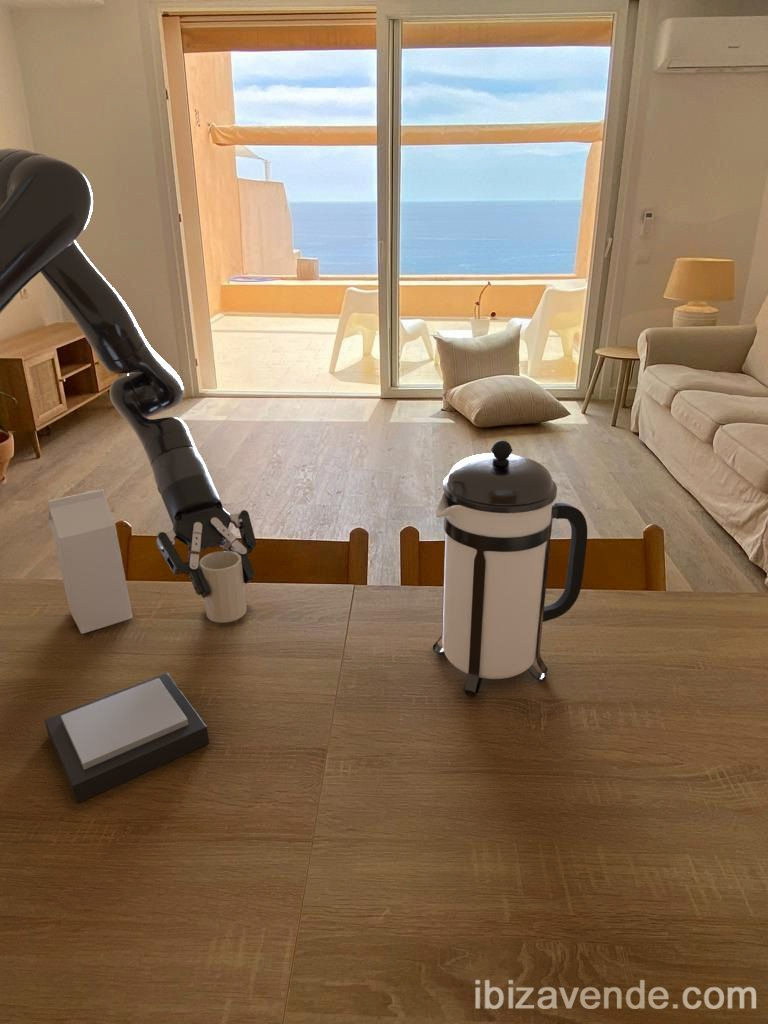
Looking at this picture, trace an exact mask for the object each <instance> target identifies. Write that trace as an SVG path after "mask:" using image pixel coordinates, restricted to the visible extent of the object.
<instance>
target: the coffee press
mask: <svg viewBox="0 0 768 1024" xmlns="http://www.w3.org/2000/svg"><path fill="white" fill-rule="evenodd" d="M490 451H491V453H489V452H488V453H482V454H476V455H472V456H469V457H466V458H464V459H462V460H460V461H459V462H457V463H456V464H454V465H453V467H452V468H451V469H450V471H449V473H448V475H447V476H446V477H445V478H444V480H443V485H442V486H443V487H442V489H443V491H442V494H441V496H440V498H439V500H438V501H439V502H438V505H437V507H436V510H435V516H436V518H442V517H443V531H444V544H443V545H444V549H443V550H444V551H443V581H442V582H443V583H442V585H443V586H442V614H441V615H442V618H441V619H442V620H441V635H440V636H439V637H438V638H437V639H436V641H435V642H434V643H433V645H432V650H433V651H434V652H435V653H436V654H440V655H441V654H443V653H444V656H445V657H446V658H447V660H448V661H449V663H451V664H452V666H453V667H455V668H456V669H458V670H459V671H461V672H463V673H465V674H467V677H466V682H465V686H464V695H469V696H472V697H477V696H478V694H479V690H480V686H481V684H482V681H483V679H485V680H486V679H487V680H502V679H508V678H509V679H510V678H513V677H515V676H519V675H521V674H522V673H524V672H526V671H528V672H529V674H531V675H532V676H533V678H534V679H536V680H538V681H542V680H545V679H546V677H547V674H548V671H549V670H548V666H547V665H546V664H545V662H544V661H543V659H542V656H541V645H542V644H541V643H542V632H543V623H544V622H549V621H550V620H551V621H552V620H554V619H558V618H559V617H561V616H563V615H565V614H566V613H567V612H568V611H569V610H571V609H572V608H573V606H574V605H575V603H576V602H577V600H578V598H579V596H580V592H581V589H582V584H583V578H584V571H585V563H586V555H587V554H586V553H587V546H588V545H587V544H588V524H587V520H586V516H585V515H584V513H583V512H582V511H581V510H580V509H579V508H577V507H576V506H574V505H572V504H569V503H565V502H555V500H556V498H557V496H558V486H557V483H556V482H555V481H554V480H553V477H552V474H551V473H550V472H549V470H548V469H547V467H545V466H544V465H542V464H541V463H540V462H538V461H536V460H534V459H531V458H529V457H526V456H522V455H518V454H512V453H513V448H512V445H511V444H510V442H508V441H507V440H503V439H500V440H496V441H495V442H494V443H493V445H492V447H491V448H490ZM554 502H555V503H554ZM553 503H554V504H553ZM553 519H557V520H562V519H563V520H567V521H568V523H569V525H570V529H571V531H570V532H571V535H570V545H569V552H568V553H569V555H568V562H567V573H566V581H565V586H564V590H563V593H562V594H561V595H560V597H559V598H558V599H557V600H556V601H555V602H553V603H551V604H548V605H545V603H546V602H545V601H546V593H547V583H548V572H549V571H548V570H549V561H550V553H551V552H550V550H551V537H552V530H553ZM441 640H442V646H440V645H439V642H440V641H441ZM535 661H536V664H537V666H538V667H539V669H540V671H541V672H539V671H538V669H537V668H536V667H535V666H534V665H533V664H534V663H535Z"/></svg>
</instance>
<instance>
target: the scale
mask: <svg viewBox="0 0 768 1024" xmlns="http://www.w3.org/2000/svg"><path fill="white" fill-rule="evenodd" d="M44 723H45V727H46V731H47V734H48V737H49V739H50V742H51V745H52V747H53V750H54V752H55V755H56V757H57V760H58V761H59V764H60V767H61V769H62V771H63V773H64V776H65V778H66V781H67V783H68V786H69V788H70V791H71V793H72V795H73V798H74V800H75V802H76V804H77V805H78V804H80V803H82V802H85V801H87V800H88V799H91V798H93V797H95V796H97V795H100V794H102V793H104V792H107V791H109V790H112V788H115V787H117V786H119V785H122V784H124V783H126V782H128V781H130V780H133V779H134V778H137V777H139V776H141V775H144V774H146V773H148V772H150V771H152V770H154V769H157V768H159V767H162V766H163V765H165V764H168V763H170V762H172V761H174V760H176V759H178V758H182V756H185V755H187V754H190V753H192V752H195V751H196V750H199V749H201V748H203V747H205V746H207V745H209V744H210V739H209V733H208V726H207V725H206V723H204V721H203V719H202V718H201V717H200V715H199V714H198V712H197V711H196V710H195V708H194V707H193V705H191V703H190V702H189V700H188V699H187V697H186V696H185V695H184V693H183V692H182V691H181V689H180V688H179V687H178V686H177V684H176V682H175V681H174V680H173V679H172V677H171V675H170V674H169V673H168V672H164V673H163V674H160V675H156V676H154V677H152V678H150V679H147V680H144V681H142V682H139V683H137V684H134V685H131V686H129V687H126V688H124V689H123V688H122V689H121V690H118V691H116V692H113V693H110V694H108V695H105V696H102V697H101V698H97V699H95V700H92V701H89V702H87V703H83V704H82V705H79V706H75V707H74V708H71V709H69V710H66V711H64V712H61V713H58V714H56V715H53V716H50V717H48V718H45V719H44Z"/></svg>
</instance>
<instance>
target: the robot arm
mask: <svg viewBox="0 0 768 1024" xmlns="http://www.w3.org/2000/svg"><path fill="white" fill-rule="evenodd" d="M93 205H94V200H93V192H92V189H91V185H90V182H89V181H88V179H87V177H86V176H85V175H84V173H82V172H81V171H80V170H79V169H78V168H77V167H75V166H74V165H72V164H71V163H68V162H67V161H64V160H61V159H59V158H57V157H53V156H49V155H46V154H42V153H38V152H35V151H30V150H27V149H22V148H21V149H20V148H11V147H10V148H9V147H8V148H1V149H0V315H1V314H2V313H3V312H4V311H5V309H6V308H7V307H9V305H10V303H12V301H13V300H14V299H15V298H16V297H17V296H18V295H19V293H21V291H22V290H23V289H24V288H25V287H26V286H28V284H29V283H30V282H31V281H32V280H33V279H34V278H35V277H36V276H37V275H39V273H40V274H41V275H42V276H43V277H44V279H45V280H46V281H47V283H48V284H49V285H50V287H51V288H52V289H53V291H54V292H55V293H56V295H57V297H58V298H59V299H60V300H61V302H62V303H63V305H64V306H65V307H66V309H67V311H68V312H69V313H70V316H72V319H73V320H74V321H75V323H76V325H77V326H78V328H79V330H80V331H81V332H82V334H83V336H84V337H85V339H86V341H87V342H88V344H89V345H90V347H91V349H92V351H93V352H94V353H95V355H96V357H97V359H99V362H100V363H101V364H102V366H103V367H104V369H106V370H107V372H109V373H112V374H119V375H120V374H121V376H119V377H116V378H115V379H114V380H113V381H112V382H111V384H110V386H109V400H110V401H111V404H112V406H113V407H114V409H115V410H116V411H117V412H118V414H119V415H120V416H121V417H122V418H123V420H124V421H125V422H126V423H127V425H129V426H130V428H131V429H132V431H133V432H134V433H135V435H136V436H137V438H138V440H139V441H140V443H141V445H142V447H143V450H144V452H145V454H146V457H147V459H148V462H149V464H150V466H151V469H152V473H153V479H154V482H155V484H156V486H157V491H158V493H159V495H160V496H161V499H162V501H163V504H164V506H165V509H166V511H167V513H168V516H169V519H170V521H171V523H172V530H169V531H168V532H164V531H160V532H159V533H158V534H157V537H156V540H155V545H156V547H157V548H158V550H159V552H160V553H161V555H162V557H163V558H164V560H165V562H166V564H167V565H168V566H169V569H170V570H171V572H172V574H173V575H174V576H179V575H187V576H188V577H189V579H190V581H191V584H192V587H193V589H194V591H195V593H196V595H197V596H201V597H202V599H204V598H205V597H208V596H209V594H210V589H209V587H208V584H207V582H206V579H205V577H204V574H203V572H202V570H201V569H200V567H199V561H200V552H201V553H202V552H204V551H206V550H208V549H211V548H212V549H213V548H218V547H220V548H221V549H222V550H223V551H232V552H235V553H238V554H239V555H240V556H241V560H242V569H243V579H244V585H247V584H251V582H252V581H253V579H254V575H255V570H254V568H253V565H252V563H251V561H250V558H249V556H248V555H249V554H251V553H252V552H253V550H254V549H255V547H256V546H257V540H256V536H255V533H254V528H253V525H252V520H251V518H250V517H251V516H250V514H249V511H248V510H246V509H242V510H241V511H240V512H238V513H231V514H230V513H229V512H228V511H226V509H225V508H224V507H223V503H222V500H221V498H220V496H219V494H218V491H217V489H216V486H215V484H214V482H213V480H212V477H211V475H210V472H209V470H208V468H207V466H206V464H205V461H204V460H203V458H202V456H201V455H200V453H199V451H198V449H197V446H196V444H195V442H194V439H193V437H192V435H191V433H190V430H189V427H188V426H187V424H186V422H184V420H182V419H181V418H178V417H174V416H170V417H160V418H154V419H152V418H149V417H152V416H156V415H158V414H160V413H162V412H165V411H167V410H170V409H172V408H175V407H176V406H178V405H179V404H180V403H181V402H182V400H183V397H184V391H185V389H184V385H183V382H182V380H181V378H180V376H179V375H178V374H177V372H176V371H175V370H174V369H173V368H172V366H171V365H170V364H168V363H167V362H166V361H165V360H164V359H163V358H162V357H161V356H160V355H159V354H158V353H157V352H156V351H155V350H154V349H153V347H151V345H150V344H149V342H148V341H147V339H146V338H145V336H144V334H143V332H142V330H141V328H140V327H139V325H138V323H137V321H136V319H135V317H134V315H133V313H132V312H131V310H130V309H129V307H128V306H127V304H126V302H125V301H124V300H123V299H122V297H121V296H120V295H119V293H118V292H117V291H116V289H115V288H114V287H112V285H111V284H110V282H108V281H107V280H106V278H105V277H104V276H103V275H102V273H101V272H99V270H98V269H97V268H96V267H95V265H94V264H93V263H92V262H91V261H90V259H89V258H88V256H87V255H86V254H85V253H84V252H83V250H82V248H81V247H80V246H79V244H78V243H77V241H76V240H77V239H78V238H79V237H80V235H82V233H83V232H84V230H85V229H86V227H87V225H88V224H89V222H90V218H91V215H92V212H93ZM123 374H124V375H123ZM230 524H233V526H234V527H235V528H236V529H238V530H239V535H240V539H241V542H242V543H241V542H240V541H239V540H238V538H237V536H236V535H235V534H234V533H233V532H232V531H231V530H230V529H229V528H230ZM175 539H176V540H178V541H180V542H181V543H182V544H184V545H186V546H187V554H186V560H187V561H185V562H184V561H183V559H182V558H181V556H180V554H179V553H178V551H177V549H176V547H175V544H176V540H175Z"/></svg>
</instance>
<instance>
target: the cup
mask: <svg viewBox="0 0 768 1024" xmlns="http://www.w3.org/2000/svg"><path fill="white" fill-rule="evenodd" d="M198 568H199V569H201V570H202V572H203V574H204V577H205V579H206V582H207V584H208V587H209V589H210V594H209V596H208V597H205V598H203V601H204V602H203V603H204V609H205V615H206V618H207V619H208V620H210V621H211V622H214V623H219V624H220V623H221V624H222V623H223V624H224V623H230V622H231V623H232V622H234V621H237V620H240V619H241V618H242V617H244V616H245V615H246V613H247V610H248V608H247V607H248V606H247V597H246V590H245V589H246V588H245V583H244V579H243V569H242V560H241V556H240V555H239V554H238V553H235V552H232V551H225V550H220V551H214V552H210V553H208V554H205V555H204V556H202V557H201V558H200V559H199V564H198Z"/></svg>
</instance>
